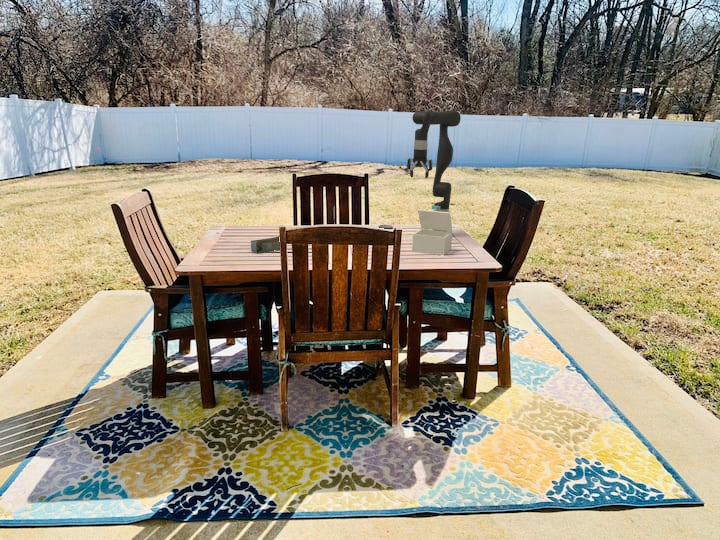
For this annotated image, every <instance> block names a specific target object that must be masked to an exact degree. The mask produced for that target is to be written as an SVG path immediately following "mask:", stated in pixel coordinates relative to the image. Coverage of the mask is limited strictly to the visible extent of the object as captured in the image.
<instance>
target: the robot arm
mask: <svg viewBox="0 0 720 540" xmlns="http://www.w3.org/2000/svg"><path fill="white" fill-rule="evenodd" d="M461 118H462V117H461V114H460V112H459V111H458V110H443V111H442V112H441V111H427V110H426V111H425V110H424V111H423V110H417V111H415V112H413V115H412V121H413V123H414V124H415V125H421V128H417V129H416V130H415V132H414V142H413V143H414V144H413V156H412V157H413V158H407V165H406V169H407V170H409V176H410V177H411V178H413V177H414V169H415V168H422V167H423V169H424V170H425V174H424V176H425V177H424V178H425V179H428V178H429V176H430V175H429V172H431V171H433V159H428V145H429V144H428V138H429V137H428V136H429V134H428V133H429V130H430V127H431V125H433V126H434V125H435V126H436V125H439V136H438V137H439V138H438V146H437V153H436V166H435V174H434V178H433V179H434V180H433V184H432V196H433V197H434V198H435V197H436V198H443V199H442V200H441V201H438V202H435V203H434V206H440V210H436V211H440V212H450V204H451V196H452V183H451V182H447V181H446V182H445V181H441V180H442V176H443V174H444V173H445V172H446V170H447V168H448V167H449V166H450V165H451V163H452V161H453V155H454V147H453V145H452V142H451V141H450V138H449V133H448V129H449V128H450V127H452V128H453V127H457V126H459V125H460V122H461ZM411 163H413V164H411ZM427 164H428V165H427ZM411 165H412V166H411ZM438 231H441V230H438ZM446 232H448V231H446Z"/></svg>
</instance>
